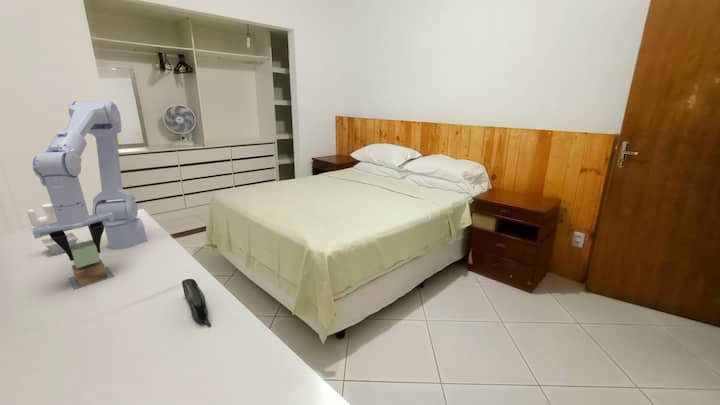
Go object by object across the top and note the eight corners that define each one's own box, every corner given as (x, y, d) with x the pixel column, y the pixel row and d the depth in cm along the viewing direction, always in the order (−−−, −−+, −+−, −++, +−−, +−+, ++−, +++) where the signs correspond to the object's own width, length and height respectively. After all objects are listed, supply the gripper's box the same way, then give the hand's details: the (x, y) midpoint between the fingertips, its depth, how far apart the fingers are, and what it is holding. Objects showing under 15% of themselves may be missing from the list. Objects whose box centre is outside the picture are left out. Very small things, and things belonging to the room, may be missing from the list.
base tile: (108, 271, 85) (107, 266, 85) (116, 281, 80) (115, 276, 80) (69, 283, 80) (68, 278, 79) (75, 295, 75) (73, 289, 74)
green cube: (96, 255, 81) (91, 239, 80) (100, 261, 79) (95, 244, 77) (73, 262, 78) (68, 245, 77) (77, 268, 75) (71, 251, 74)
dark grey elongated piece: (179, 279, 72) (194, 309, 61) (193, 275, 74) (211, 303, 63) (183, 298, 74) (199, 331, 63) (197, 293, 76) (214, 324, 64)
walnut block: (102, 269, 83) (99, 257, 82) (107, 276, 80) (104, 264, 79) (75, 277, 79) (71, 265, 78) (79, 285, 76) (75, 272, 75)
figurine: (85, 247, 99) (71, 202, 95) (44, 259, 92) (28, 210, 88) (79, 241, 104) (66, 198, 99) (39, 252, 97) (23, 206, 92)
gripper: (26, 215, 66) (46, 272, 70) (111, 199, 76) (124, 250, 80) (23, 208, 70) (43, 262, 74) (104, 194, 81) (117, 242, 85)
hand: (85, 255), depth 78 cm, fingers closed on green cube, 4 cm apart
